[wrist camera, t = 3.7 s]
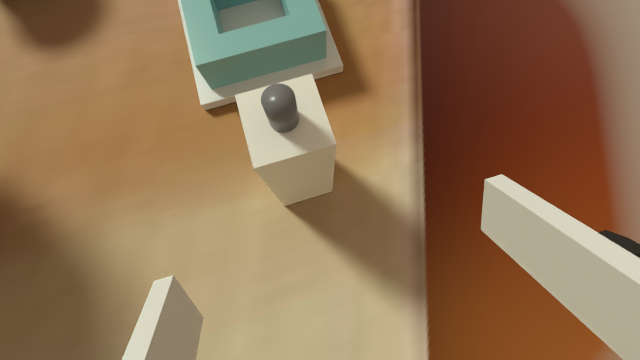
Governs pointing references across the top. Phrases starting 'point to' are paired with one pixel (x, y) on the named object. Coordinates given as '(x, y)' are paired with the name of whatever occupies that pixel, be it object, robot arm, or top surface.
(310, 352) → the top surface
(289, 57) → the socket
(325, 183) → the plug
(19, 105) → the top surface
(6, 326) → the top surface
